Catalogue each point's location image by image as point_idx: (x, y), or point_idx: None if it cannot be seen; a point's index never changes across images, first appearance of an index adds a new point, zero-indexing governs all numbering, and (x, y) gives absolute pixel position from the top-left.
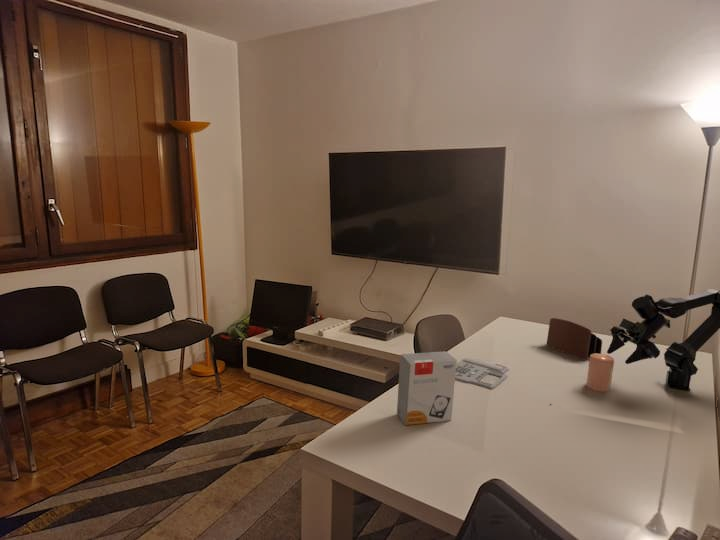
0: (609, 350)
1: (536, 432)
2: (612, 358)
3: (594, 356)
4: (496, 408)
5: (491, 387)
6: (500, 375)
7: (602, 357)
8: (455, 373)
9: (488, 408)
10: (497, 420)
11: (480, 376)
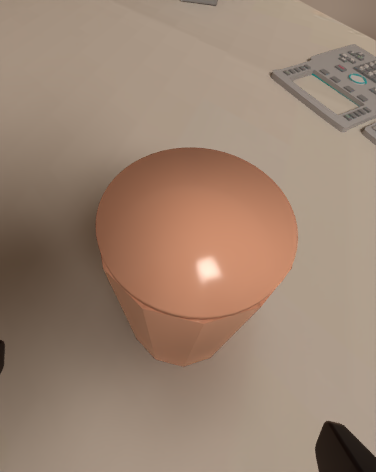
0: (343, 456)
1: (86, 44)
2: (137, 281)
3: (232, 178)
4: (190, 46)
5: (273, 70)
6: (342, 114)
7: (194, 216)
8: (354, 58)
9: (195, 39)
10: (151, 30)
11: (334, 79)
